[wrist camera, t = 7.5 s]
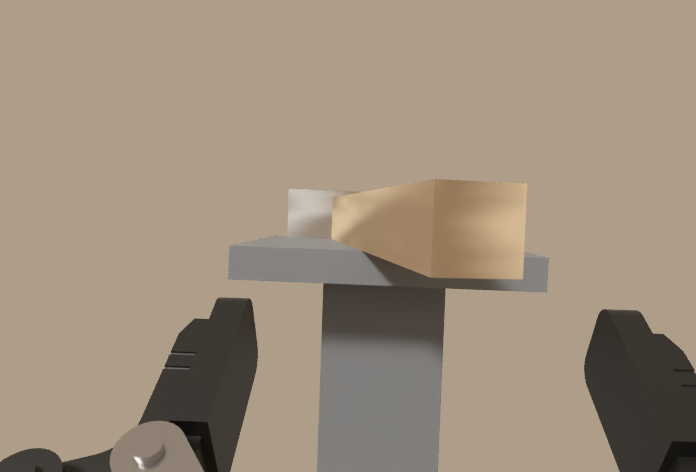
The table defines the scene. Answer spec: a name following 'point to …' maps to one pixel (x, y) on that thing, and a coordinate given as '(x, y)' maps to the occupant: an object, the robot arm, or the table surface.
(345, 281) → the stand
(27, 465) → the robot arm
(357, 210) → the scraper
